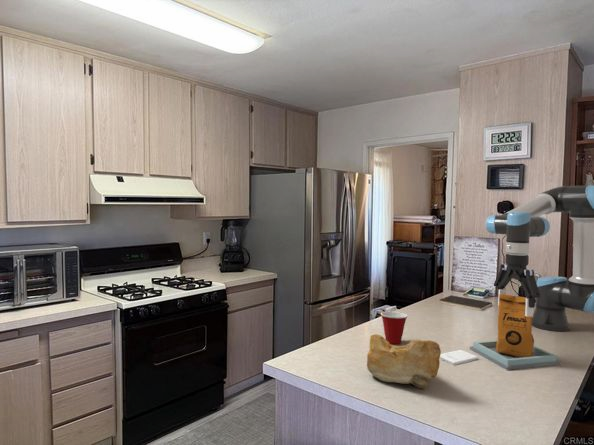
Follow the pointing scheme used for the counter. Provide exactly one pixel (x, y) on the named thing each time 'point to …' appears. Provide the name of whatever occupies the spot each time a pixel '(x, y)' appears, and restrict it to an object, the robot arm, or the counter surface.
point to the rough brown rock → (403, 361)
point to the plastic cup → (393, 326)
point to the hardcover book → (465, 302)
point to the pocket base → (512, 362)
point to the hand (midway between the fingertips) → (514, 311)
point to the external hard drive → (457, 357)
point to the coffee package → (514, 327)
